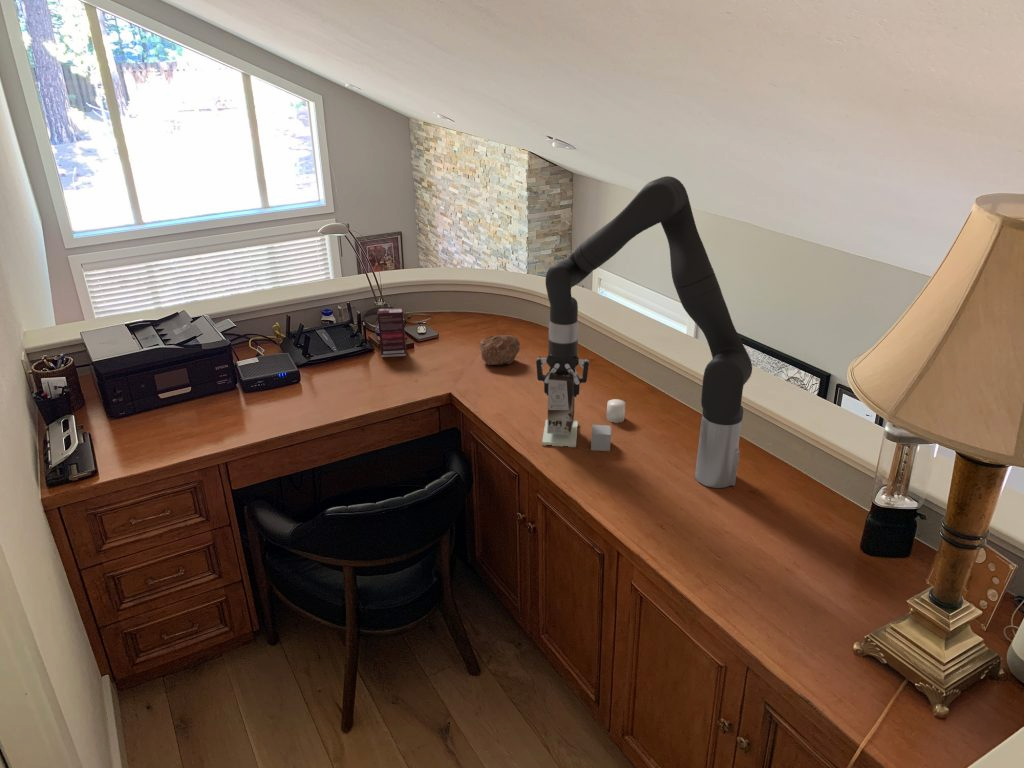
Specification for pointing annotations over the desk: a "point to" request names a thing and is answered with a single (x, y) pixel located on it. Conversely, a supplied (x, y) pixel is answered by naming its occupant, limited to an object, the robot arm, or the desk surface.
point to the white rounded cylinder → (615, 410)
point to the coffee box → (560, 404)
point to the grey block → (601, 437)
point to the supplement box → (391, 332)
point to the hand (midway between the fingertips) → (561, 394)
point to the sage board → (560, 437)
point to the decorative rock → (499, 349)
